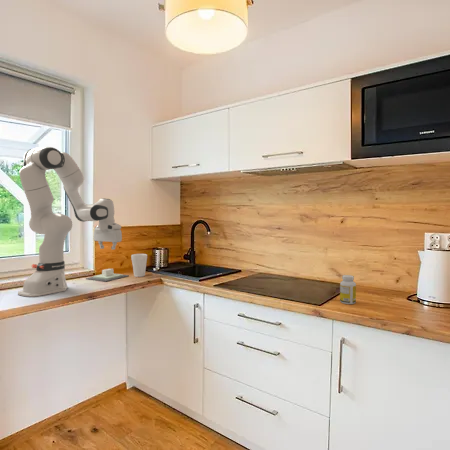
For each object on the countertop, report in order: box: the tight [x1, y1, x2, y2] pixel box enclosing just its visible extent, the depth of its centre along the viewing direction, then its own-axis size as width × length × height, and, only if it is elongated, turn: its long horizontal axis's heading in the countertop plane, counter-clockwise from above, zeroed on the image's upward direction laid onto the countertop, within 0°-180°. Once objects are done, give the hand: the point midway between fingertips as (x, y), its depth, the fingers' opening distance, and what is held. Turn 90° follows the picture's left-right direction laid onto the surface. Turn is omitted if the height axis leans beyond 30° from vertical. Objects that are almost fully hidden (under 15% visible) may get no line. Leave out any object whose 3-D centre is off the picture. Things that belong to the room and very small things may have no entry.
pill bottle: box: [339, 274, 357, 305], centre depth 146 cm, size 6×6×12 cm
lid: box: [92, 268, 124, 280], centre depth 201 cm, size 12×12×4 cm
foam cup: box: [130, 253, 148, 278], centre depth 206 cm, size 10×9×13 cm
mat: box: [85, 274, 129, 283], centre depth 201 cm, size 18×16×1 cm
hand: (107, 249), depth 201 cm, fingers open, 8 cm apart
